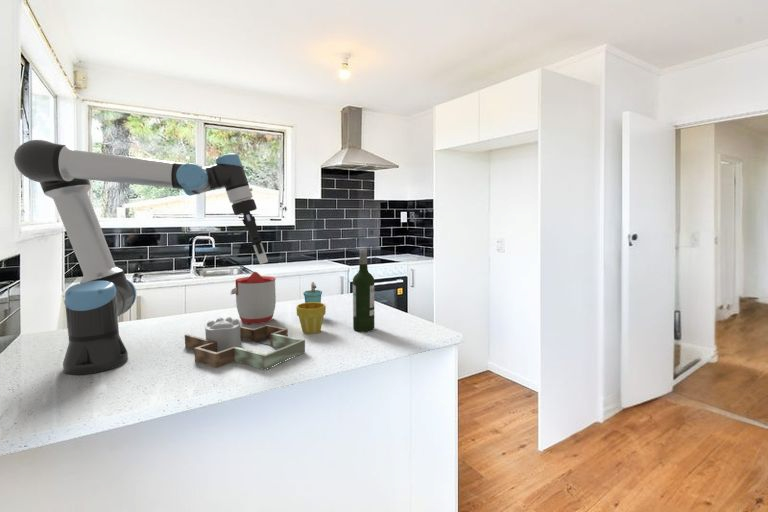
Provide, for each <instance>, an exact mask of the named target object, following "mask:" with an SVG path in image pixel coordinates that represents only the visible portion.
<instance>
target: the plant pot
mask: <svg viewBox="0 0 768 512" xmlns="http://www.w3.org/2000/svg"><path fill="white" fill-rule="evenodd" d="M326 306H327V305H326V304H325V303H323V302H321V303H319V302H307V303H305V302H303V303H299V304H298V305H296V316H297V317H298V319H299V324H300V327H301V332H302V333H303V334H307V335H310V334H311V335H313V334H318V333H321V331H322V325H323V320H324V316H325V315H326V310H327V309H326V308H327V307H326Z"/></svg>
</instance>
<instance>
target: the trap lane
mask: <svg viewBox="0 0 768 512" xmlns="http://www.w3.org/2000/svg"><path fill="white" fill-rule="evenodd" d="M240 332H241V340H246V341H249V342H254V343H258V344H261V345H262V344H263V345H265V346H269V347H273V346H274V347H275V348H277V349H275V350H274V351H271V352H268V353H261V352H257V351H253V350H249V349H247V348H246V349H245V348H242V347H235V346H234V347H231V348H229V349H226V350H223V351H220V352H218V349H217V342H216V341H212V340H208V339H206V338H204V337H200V336H196V335H192V334H189V333H186V334H184V347H185V348H188V349H191V350H193V351H194V361H195V362H197V363H198V364H199V363H200V364H203V365H206V366H209V367H213V368H216V369H218V368H220V367H223V366H226V365H228V364H230V363H233V362H237V363H241V364H243V365H248V366H250V365H251V366H250V367H253V366H255V367H254V368H257V367H258V368H257V369H260V368H263V369H262V370H264V369H267V368H269V369H271V368H270V367H272V366H274V365H276V364H278V363H280V362H283V361H285V360H287V359H289V358H292V357H294V356H296V357H298V356H297V355H299V354H301V353H303V354H305V353H306V341H305V339H300V338H297V337H292V336H289V329H288V328H285V327H279V326H275V325H271V324H270V325H269V324H265V325H261V326H260V327H256V328H251V327H246V326H241V325H240ZM278 347H279V348H278ZM304 352H305V353H304ZM301 355H302V354H301ZM299 356H300V355H299ZM294 358H295V357H294ZM292 359H293V358H292ZM287 361H288V360H287ZM285 362H286V361H285ZM283 363H284V362H283ZM278 365H279V364H278ZM276 366H277V365H276ZM274 367H275V366H274ZM272 368H273V367H272ZM267 370H268V369H267Z"/></svg>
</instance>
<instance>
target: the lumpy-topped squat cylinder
mask: <svg viewBox="0 0 768 512" xmlns="http://www.w3.org/2000/svg"><path fill="white" fill-rule="evenodd" d="M240 326H241V321H240V320H239V319H238V318H232V317H231V316H227V317H226V318H224V317H218V318H216V320H212V319H211V320H208V322H207V323H206V325H205V331H204V332H205V339H208V340H212V341H216V342H217V349H218V352H220V351H223V350H226V349H229V348H231V347H234V346H235V347H239V348H241V345H242V339H241V332H240Z"/></svg>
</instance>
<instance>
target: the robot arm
mask: <svg viewBox="0 0 768 512" xmlns="http://www.w3.org/2000/svg"><path fill="white" fill-rule="evenodd" d="M13 159H14V160H13V161H14V165H15V167H16V168H17V170H18V171H19V172H20V173H21V175H22V176H24V177H26V178H27V179H28V180H31V181H34V182H37V183H39V184H40V187H41V189H42V191H43V194H44V196H47V197H48V198H51V199H52V200H53V202H54V205H55V207H56V209H57V213H58V214H59V217H60V220H61V221H62V224H63V225H62V226H63V227H64V229H65V232H66V235H67V237H68V240H69V243H70V244H71V246H72V249H73V252H74V254H75V256H76V259H77V261H78V264H79V267H80V269H81V272H82V275H83V276H82V278H81V279H80V281H79V283H77V284H74V285H72V286H69V287H68V288H67V289H66V290H65V292H64V301H63V303H64V305H65V307H64V308H65V317H66V325H67V335H68V345H67V348H66V352H65V354H64V357H63V361H62V366H63V367H62V370H63V372H64V373H65V374H68V375H88V374H95V373H100V372H105V371H108V370H113V369H115V368H117V367H119V366H122V365H124V364H126V362H127V361H128V360H129V355H128V354H129V353H128V350H127V348H126V345H125V344H124V342H123V339H122V337H121V336H120V331H119V318H118V317H119V316H121V315H123V314H125V313H127V312H128V311H129V310H130V309H131V308H132V306H133V305H134V304H135V302H136V299H137V288H136V287H135V285H134V284H133V282H131V281H130V280H129V279H127V277H126V275H125V272H124V269H122V268H119V267H117V266H116V264H115V261H114V259H113V256H112V253H111V250H110V249H109V246H108V243H107V241H106V237H105V234H104V233H103V230H102V227H101V224H100V222H99V219H98V217H97V214H96V212H95V209H94V206H93V204H92V201H91V199H90V196H89V191H90V190H91V188H92V185H91V182H90V181H99V182H107V183H118V184H127V185H128V184H129V185H140V186H149V187H158V188H169V189H178V190H183V191H184V193H185V195H186V196H191V197H192V196H196V195H200V194H203V193H206V192H210V191H212V190H213V191H214V190H217V189H220V188H222V189H223V188H225V193H226V194H227V198H228V200H229V203H231V209H232V212H233V214H234V215H235V216H239V215H243V217H242V218H243V219H241V221H242V223H243V225H244V227H245V230H246V231H248V234H249V237H250V240H251V242H250V245H251V246H253V249H254V252H255V255H256V258H257V260H258V263H259V265H264V264H266V263H268V262H269V259H268V258H267V254H266V252H265V248H264V246H263V245H264V244H263V242H262V238H261V237H260V234H259V232H258V229H257V228H258V226H257V223H256V218H255V216H254V215H253V214H252V213H251V212H252V211H256V210H257V209H258V208H257V204H256V202H255V199H254V198H253V193H252V191H253V188H252V187H251V188H250V185H249V180H248V178H247V174H246V171H245V169H244V166H243V163H242V160H241V158H240V156H239V154H237V153H235V152H233V153H226V154H223V155H219V156H216V158H215V164H212V165H208V166H204V167H203V166H202V165H199V163H194V162H187V163H184V162H177V161H176V162H175V161H171V160H170V161H169V160H168V161H167V160H161V159H160V160H159V159H154V158H144V157H143V158H142V157H135V156H134V157H133V156H127V155H119V154H111V153H104V152H103V153H102V152H93V151H86V150H76V149H74V148H73V147H72V146H70V145H66V144H59V143H54V142H51V141H48V140H43V139H32V140H28V141H25V142H23V143H22V144H20V146H18V147H17V149H16V150H15V152H14V156H13Z"/></svg>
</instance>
